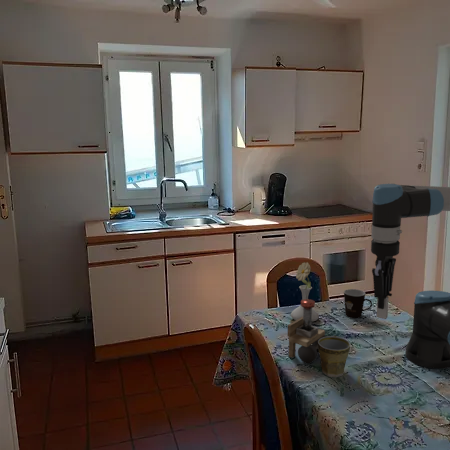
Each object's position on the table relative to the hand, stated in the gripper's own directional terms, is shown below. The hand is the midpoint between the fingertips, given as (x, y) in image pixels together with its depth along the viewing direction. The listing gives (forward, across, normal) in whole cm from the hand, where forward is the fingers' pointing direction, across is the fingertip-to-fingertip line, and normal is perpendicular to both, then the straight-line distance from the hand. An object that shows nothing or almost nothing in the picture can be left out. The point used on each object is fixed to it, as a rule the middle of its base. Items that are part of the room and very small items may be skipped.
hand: (382, 317), depth 134 cm
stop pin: (+14, +4, +27) cm, 30 cm away
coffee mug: (+25, +45, +26) cm, 57 cm away
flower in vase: (+24, +29, +41) cm, 56 cm away
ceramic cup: (+22, -1, +15) cm, 26 cm away
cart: (+22, +3, +26) cm, 34 cm away
